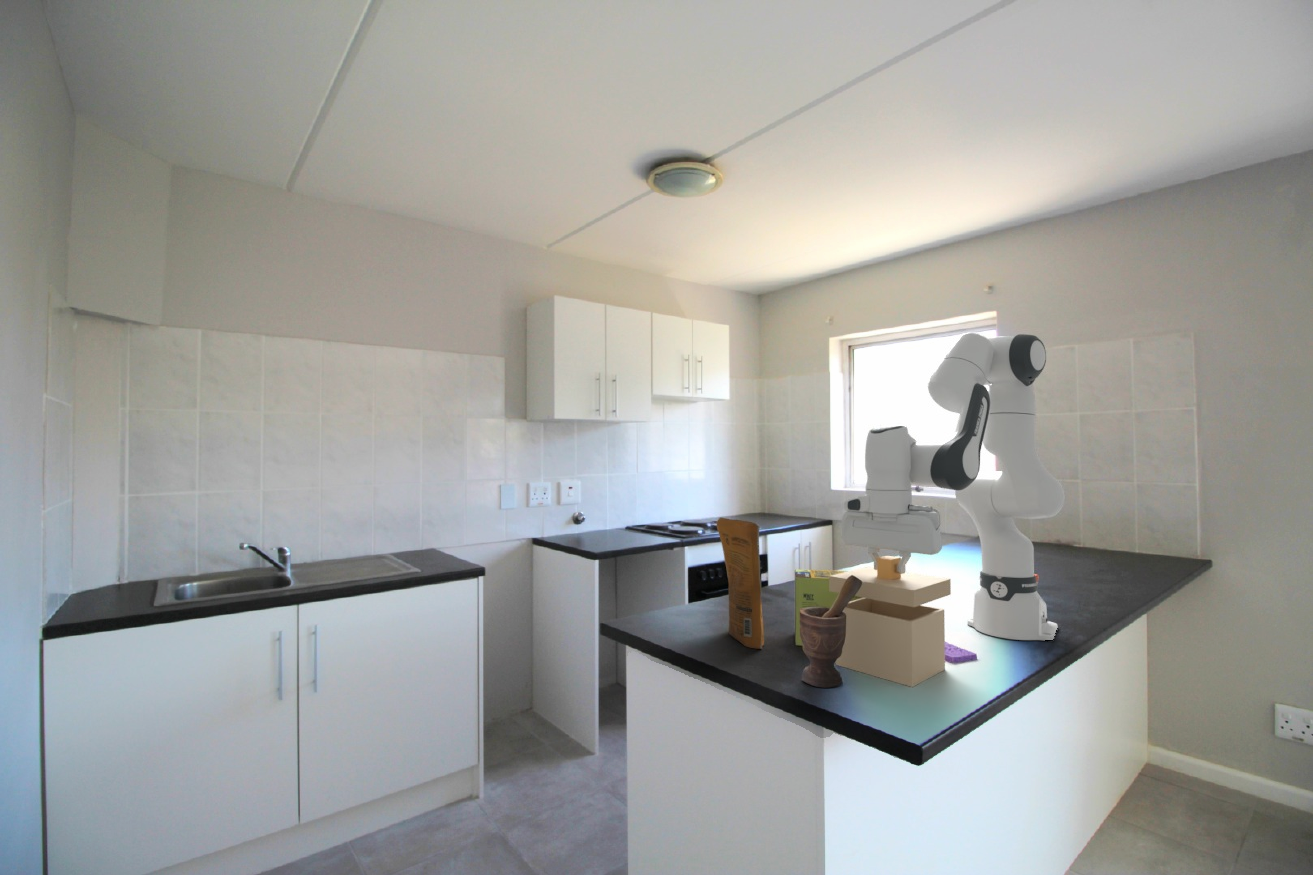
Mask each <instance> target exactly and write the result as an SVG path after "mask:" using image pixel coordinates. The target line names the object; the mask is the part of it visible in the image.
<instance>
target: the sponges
mask: <svg viewBox="0 0 1313 875" xmlns="http://www.w3.org/2000/svg"><path fill="white" fill-rule="evenodd" d="M975 659H976V660H978V654H977V653H975V652H974V651H970V650H967V649H965V648H961V647H958V646H957V645H954V644H953V643H949V642H947V641H945V662H949V663H954V664H957V663H963V662H966V661H968V662H969V661H975Z"/></svg>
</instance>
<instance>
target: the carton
mask: <svg viewBox="0 0 1313 875" xmlns="http://www.w3.org/2000/svg"><path fill="white" fill-rule="evenodd" d="M842 612H844V613H845V614H846V637H845V643H844V645H843V648H842V654H841V656H840V657H839V658H838V659H837V660H836V661H835V666H839V667H842V668H846V669H849V670H853V671H856V672H859V673H862V674H866V675H870V676H873V677H876V678H880V679H883V680H887V681H889V682H893V683H898V684H901V685H904V686H908V687H910V688H913V687H915V686H917V685H919V684H921V683H923V682H925V681H926V680H928V679H929V678H932V677H934V676H935V675H937V674H939V673H942V672H943V671H945V670H946V660H945V642H946V641H945V637H946V636H945V633H946V631H945V608H940V607H933V606H930V605H929V606H928V605H924V604H922V605H919V606H916V607H910V606H905V605H899V604H894V603H889V602H884V601H878V600H873V599H868V598H861V599H857V600H854V601H850V602H849V603H848V604H847V606H846V607H845V608H844V610H843V611H842Z"/></svg>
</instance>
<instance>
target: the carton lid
mask: <svg viewBox="0 0 1313 875" xmlns="http://www.w3.org/2000/svg"><path fill="white" fill-rule="evenodd" d="M901 558H902V557H900V556H899V557H898V556H893V555H891V556H890V555H885V556H884V555H883V556H879V558H877V570H874V566H867V567H862V568H861V567H860V568H858V569H853V570H847V571H848V572H844V573H840V574H835V575H831V576H829V591H831V592H837V593H840V591H841V588H842V586H843V585H844V583H845V581H846V580H847V578H848V577H849V576H851V575H853V576H855V577H857V578H859V579H860V580H861V581H862V585H861V587H860V589H859V591H858V592H857V593H856V595H855V596H858V597H863V598H868V599H873V600H878V601H884V602H889V603H894V604H899V605H905V606H910V607H916V606H919V605H924V604H927V603H930V602H933V601H936V600H939V599H941V598H944V597H948V596H951V594H952V592H951V588H952V587H951V578H947V577H940V576H934V575H933V576H932V575H927V574H926V575H925V574H919V573H913V572H907V571H905V573H904V574H899V573H895V572H894V570H895V568H894V564H898V563H899V562H900V560H901Z"/></svg>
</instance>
